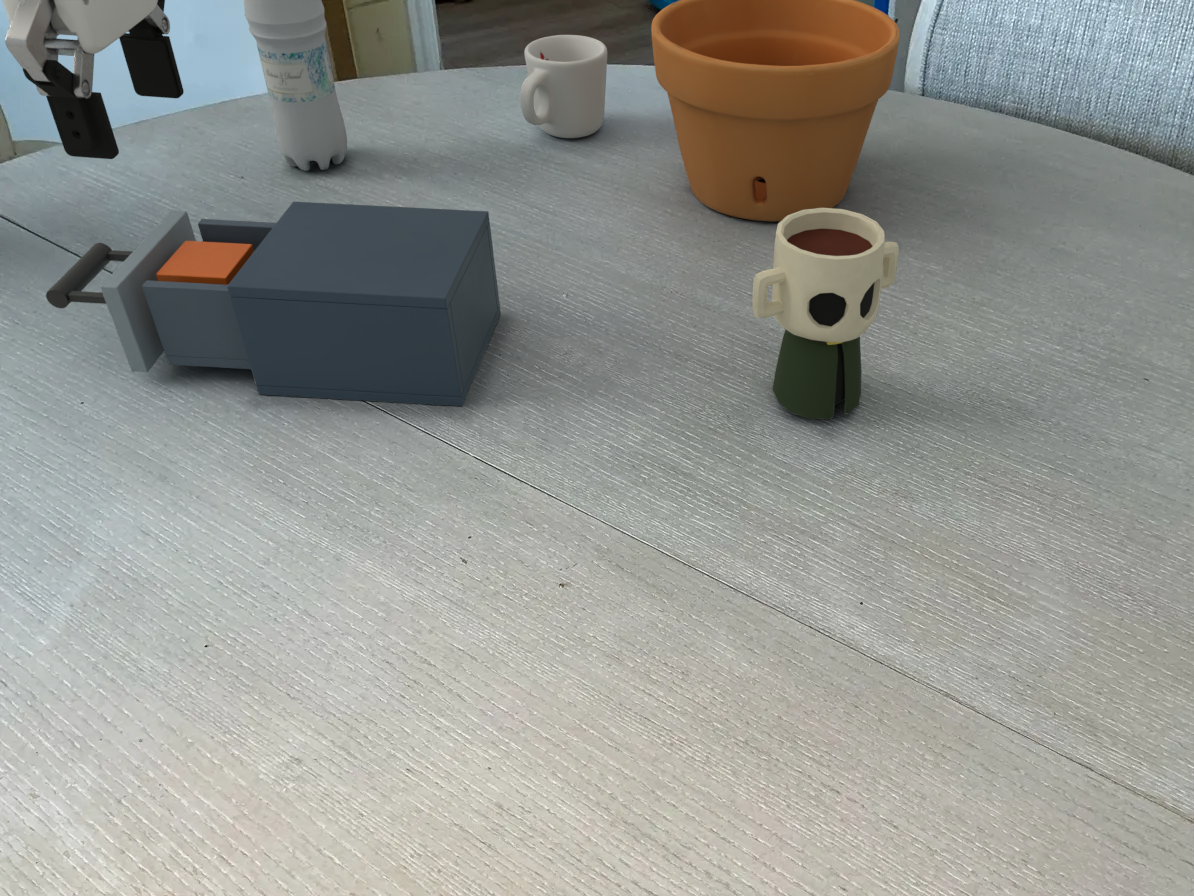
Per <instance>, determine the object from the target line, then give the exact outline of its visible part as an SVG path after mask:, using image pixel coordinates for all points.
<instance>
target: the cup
mask: <svg viewBox="0 0 1194 896" xmlns="http://www.w3.org/2000/svg"><path fill="white" fill-rule="evenodd" d="M523 53H524V60H525V65H526V70H527V77H526V78H525V80H524V81H523V83H522V84H521V88H520V92H519V100H520V101H519V102H520V108H521V112H522V115H523V117H524V119H525V121H526V122H527V123H528V124H531V125H534V126H539V127H540V129H541V130H542V131H543V132H544V133H546V134H548V135H550V136H552V137H555V138H560V139H580V138H584V137H588V136H590V135H592V134H595V133H596V132H597V131H598V130H599V129H600V128H601V127H602V125H603V123H604V118H605V106H606V90H607V89H606V87H607V69H608V48H607V46H606V45H605V44H604V43H603V42H602V41H600V40H598V39H596V38H594V37H590V36H586V35H580V34H579V35H578V34H557V35H550V36H544V37H541V38H537V39H535V40H533V41H531V42H529V43H528V44H527V45H526V46H525V48H524V52H523Z"/></svg>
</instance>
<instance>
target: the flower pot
mask: <svg viewBox="0 0 1194 896" xmlns="http://www.w3.org/2000/svg"><path fill="white" fill-rule="evenodd" d="M650 27H651V28H650V29H651V31H650V32H651V44H652V53H653V62H654V63H653V64H654V72H655V77H656V81H657V82H658V84H659V86H661V88H662V89H663V90H664V91H665V92H666V93H667V98H668V101H669V105H670V106H669V107H670V110H671V115H672V119H673V122H674V128H675V133H676V137H677V142H678V147H679V151H680V155H681V158H682V159H681V160H682V163H683V166H684V170H685V173H686V177H687V181H688V184H689V187H690V188H689V189H690V190H691V193H692V194H693V195H694V197H695V198H696V199H697V200H698V201H699V202H700V203H702V204H703V205H704V206H706V207H707V208H709V209H711V210H713V211H715V212H718V213H721V214H723V215H727V216H729V217H734V218H738V219H744V220H751V221H756V222H781V221H782V220H783V219H784V218H785V217H786V216H787V215H790V214H793V213H796V212H798V211H801V210H806V209H816V208H833V209H834V208H835V207H836V206H837V205H839V204H840V203H841V202H842V200H843V199H844V197H845V195H846V193H847V191H848V188H849V186H850V183H851V180H852V178H853V174H854V173H855V169H856V167H857V164H858V162H859V158H860V156H861V152H862V150H863V147H864V143H865V141H866V137H867V135H868V132H869V128H870V125H871V122H872V120H873V116H874V113H875V111H876V108H877V104H878V101H879V99H881V98H883V96H885V94H886V93H888V90H889V89H890V88H891V85H892V80H893V77H894V76H893V75H894V71H895V66H896V61H897V56H898V49H899V44H900V39H901V38H900V37H901V31H900V27H899V26H898V24H897V23H896V22H895V20H894V19H893V18H891V16H890V15H889V14H886V13H885V12H883V11H882V10H880V9H878V8H876V7H874V6H871V5H869V4H867V3H864V2H862V1H859V0H677V1H674V2H672V3H670V4H668V5H667V6H665V7H664V8H662V9H661V10H660V11H659V12H658V13H656V14H655V16H654V17H653V19H652V22H651V26H650ZM761 180H764V181H765V182H763V181H761Z"/></svg>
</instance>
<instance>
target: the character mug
mask: <svg viewBox="0 0 1194 896" xmlns="http://www.w3.org/2000/svg"><path fill="white" fill-rule="evenodd" d="M773 249H774V251H773V268H770V269H765V270H762V271H759V272H758V273H756V274H755V275H754V278H753V281H752V282H753V283H752V302H751V303H752V304H751V308H752V314H753V317H754V318H757V319H767V318H771V317H773V318H774V319H775V321H776V322H777V323H778V324H779V326H780V327H781V328H783V329H784V333H783V335H782V339H781V344H780V348H779V353H778V358H777V362H776V366H775V370H774V371H775V372H774V377H773V383H772V389H771V390H772V392H773V394H774V396H775V399H776V400H777V402H778V403H779V404H781V405H782V406H783V407H784V408H785V409H786V410H787V411H788V412H789V413H790V414H793V415H796V416H799V417H803V418H806V419H809V420H810V419H811V420H830V419H833V418H834V417H835V406H836V405H839V404H840V403H841V402H843V401H844V415H847V414H850V413H851V412H852V411H853V410H854V409H855V408H857V407H858V406H859V404H860V399H861V396H862V394H861V393H862V353H861V336H862V335H864V333H866V332H867V330H868V329H869V328H870V327H871V326H872V324H873V323H874V322H875V321H876V318H877V316H878V312H879V309H880V305H881V294H882V289H886V288H889V287H890V286H892V285H894V283H895V281H896V277H897V272H898V271H897V269H898V262H899V253H900V249H899V246H898V242H897V241H886V240H885V231H884V229H883V228H882V227H881V225H880V224H879V223H878V221H876V220H874V219H872V218H870V217H869V216H866V215H865V214H863V213H859V212H855V211H851V210H848V209H843V208H834V207H833V208H816V209H806V210H801V211H798V212H796V213H793V214H790V215H787V216H786V217H785V218H784V219H783V220H782V221H778V223H777V227H776V232H775V238H774V248H773ZM769 286H772V287H771V288H772V289H771V301H768V292H769V291H768V289H769Z"/></svg>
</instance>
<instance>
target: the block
mask: <svg viewBox="0 0 1194 896" xmlns="http://www.w3.org/2000/svg"><path fill="white" fill-rule="evenodd" d="M253 252H254V249H253V245H252V244H240V243H221V242H203V240H201V241H198V240H196V241H185V242H184V243H183V244H182V245H181V246H180V247H179V249H178V250H177V251H176V252H175V253H174V254H173V255H172V256H171V258H170V259H169V260H168V261H167V262H166V263H165V264H164V266H163V267H162V268H161V269H160V270H159V271H158V272H157V273H156V276H157V279H158V281H167V282H185V283H203V284H222V285H229V283H230V282H231V281H232V279H233V278H234V277H235V276H236V274H237V273H238V272H239V270H240V269H241V268H242V267H243V265H244V264H245V263H246V261H247V260H248V259H249V258H250V256H251V255H252V254H253Z"/></svg>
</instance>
